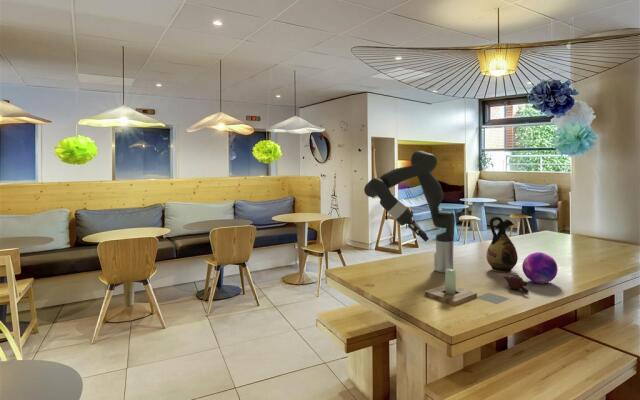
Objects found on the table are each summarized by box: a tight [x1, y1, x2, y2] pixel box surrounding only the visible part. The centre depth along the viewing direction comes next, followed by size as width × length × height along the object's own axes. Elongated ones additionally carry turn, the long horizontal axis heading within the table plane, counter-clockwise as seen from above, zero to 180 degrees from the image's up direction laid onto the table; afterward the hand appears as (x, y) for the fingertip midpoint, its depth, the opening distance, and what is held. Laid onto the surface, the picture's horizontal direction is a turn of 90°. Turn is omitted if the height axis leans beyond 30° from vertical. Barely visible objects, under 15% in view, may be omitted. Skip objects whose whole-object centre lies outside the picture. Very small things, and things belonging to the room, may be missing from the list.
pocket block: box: [424, 284, 478, 306], centre depth 171 cm, size 16×16×2 cm
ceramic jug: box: [485, 215, 519, 274], centre depth 208 cm, size 17×15×30 cm
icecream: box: [503, 274, 529, 294], centre depth 179 cm, size 7×7×15 cm
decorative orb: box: [521, 251, 559, 284], centre depth 187 cm, size 15×15×15 cm
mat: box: [476, 292, 510, 305], centre depth 167 cm, size 10×10×1 cm
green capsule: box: [444, 268, 457, 295], centre depth 171 cm, size 4×4×12 cm
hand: (426, 238), depth 171 cm, fingers open, 8 cm apart
